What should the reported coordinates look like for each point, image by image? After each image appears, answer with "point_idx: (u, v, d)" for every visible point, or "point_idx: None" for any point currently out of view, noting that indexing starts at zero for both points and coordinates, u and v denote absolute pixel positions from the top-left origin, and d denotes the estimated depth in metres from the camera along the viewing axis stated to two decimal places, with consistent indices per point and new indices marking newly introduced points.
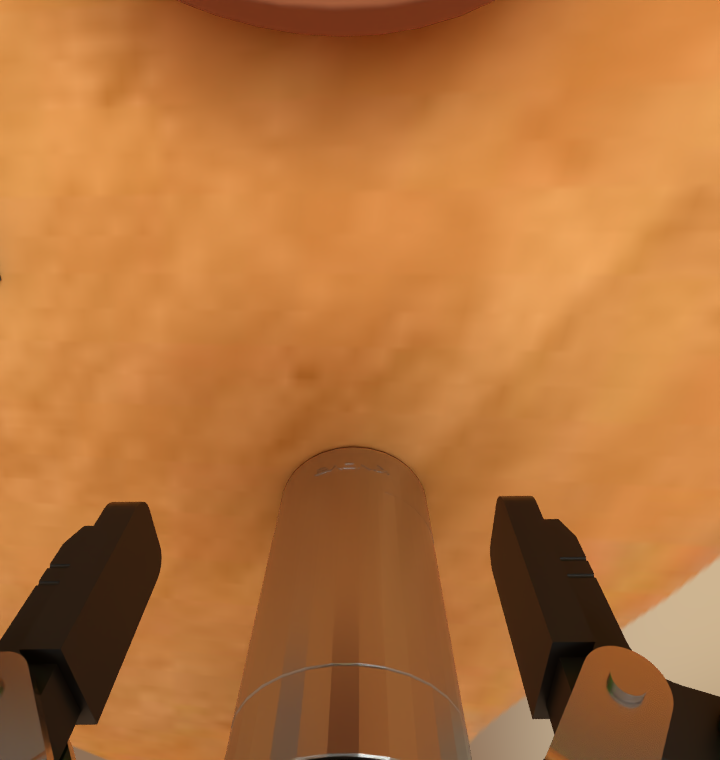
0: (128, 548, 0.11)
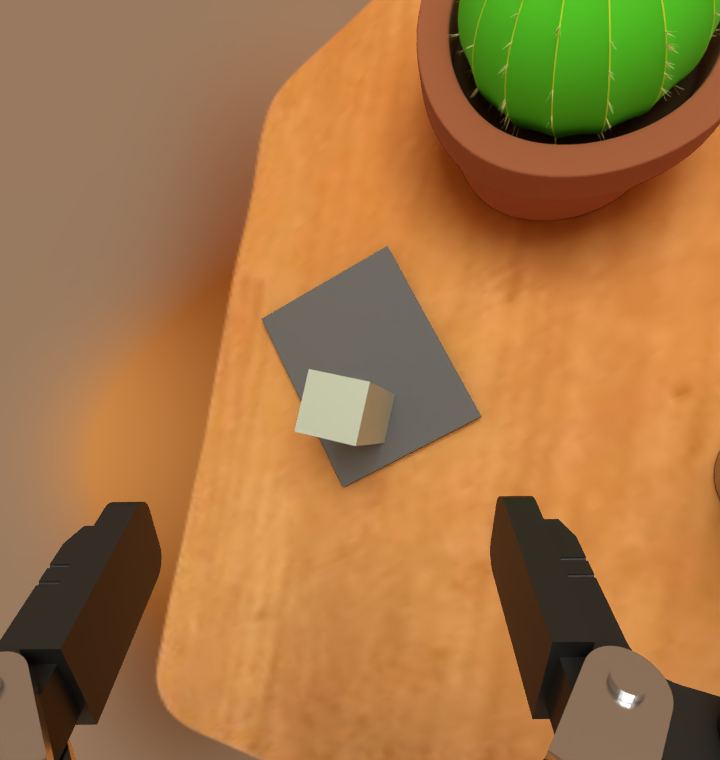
0: (128, 548, 0.11)
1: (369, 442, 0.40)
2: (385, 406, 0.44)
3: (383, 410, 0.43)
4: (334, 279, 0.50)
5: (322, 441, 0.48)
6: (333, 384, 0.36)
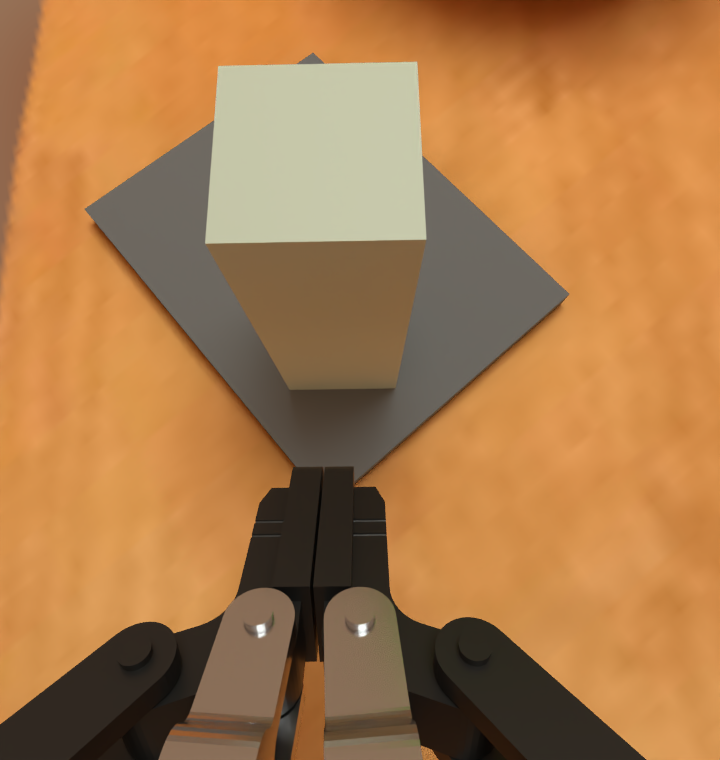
0: (320, 507, 0.12)
1: None
2: None
3: None
4: None
5: (260, 417, 0.22)
6: (306, 88, 0.12)
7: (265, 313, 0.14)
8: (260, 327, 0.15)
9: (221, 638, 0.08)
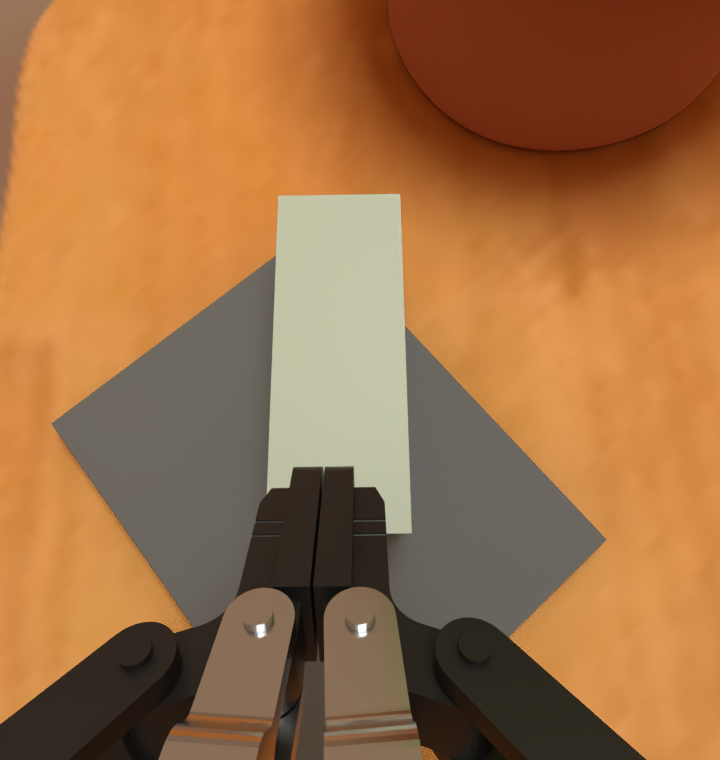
0: (320, 507, 0.12)
1: None
2: None
3: None
4: (212, 309, 0.23)
5: None
6: None
7: (290, 285, 0.18)
8: (279, 314, 0.18)
9: (221, 638, 0.08)
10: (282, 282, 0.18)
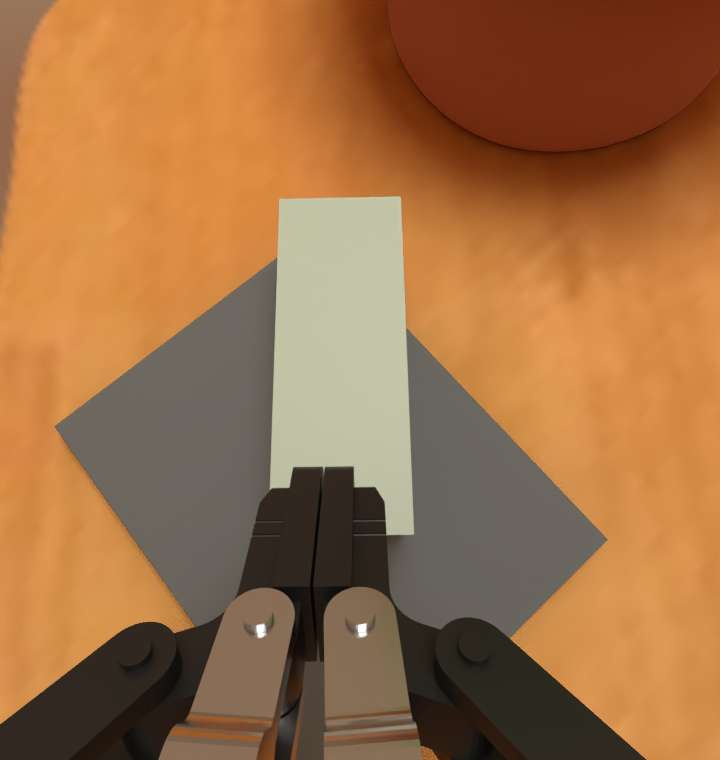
0: (320, 507, 0.12)
1: None
2: None
3: None
4: (214, 311, 0.23)
5: None
6: None
7: (291, 288, 0.18)
8: (281, 317, 0.18)
9: (221, 638, 0.08)
10: (284, 285, 0.18)
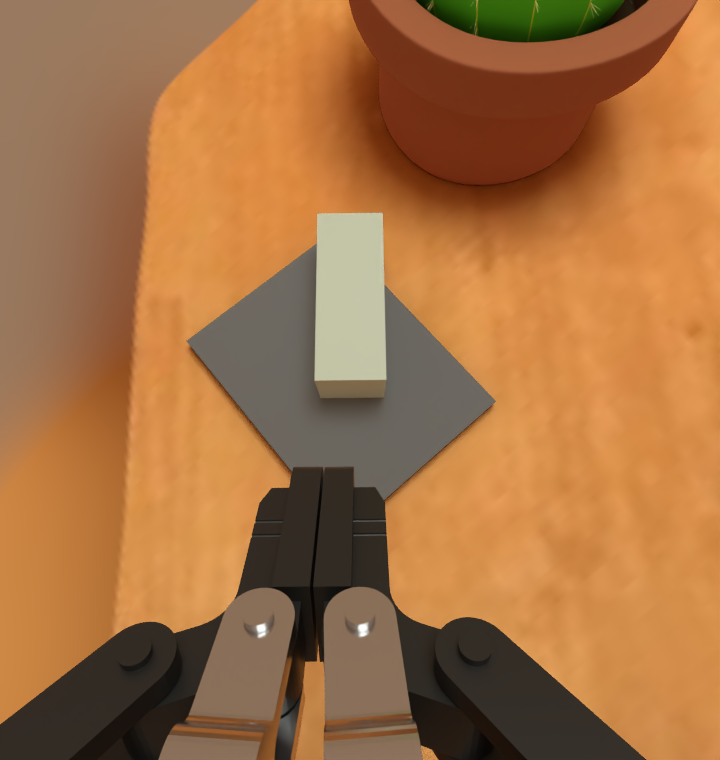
0: (320, 507, 0.12)
1: None
2: None
3: None
4: (275, 277, 0.40)
5: None
6: None
7: (324, 260, 0.35)
8: (319, 275, 0.35)
9: (221, 638, 0.08)
10: (320, 259, 0.35)
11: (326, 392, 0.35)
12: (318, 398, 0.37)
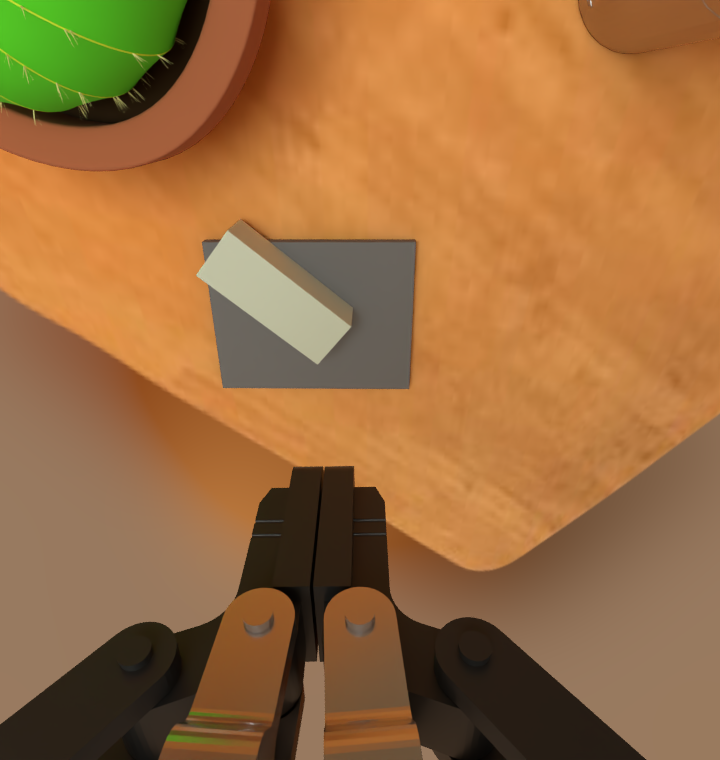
0: (320, 507, 0.12)
1: (279, 269, 0.41)
2: (319, 286, 0.44)
3: (314, 284, 0.44)
4: (214, 308, 0.47)
5: (361, 387, 0.50)
6: None
7: (238, 299, 0.42)
8: (247, 310, 0.42)
9: (221, 638, 0.08)
10: (235, 300, 0.42)
11: None
12: None
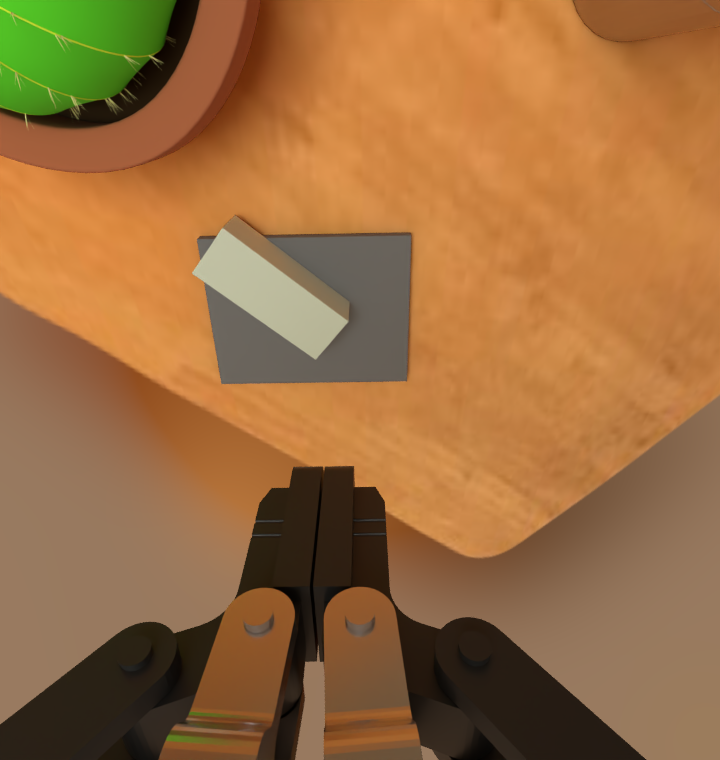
0: (320, 507, 0.12)
1: (275, 266, 0.41)
2: (315, 281, 0.44)
3: (310, 279, 0.44)
4: (210, 305, 0.47)
5: (359, 380, 0.50)
6: None
7: (235, 296, 0.42)
8: (244, 307, 0.42)
9: (221, 638, 0.08)
10: (232, 297, 0.42)
11: None
12: None
